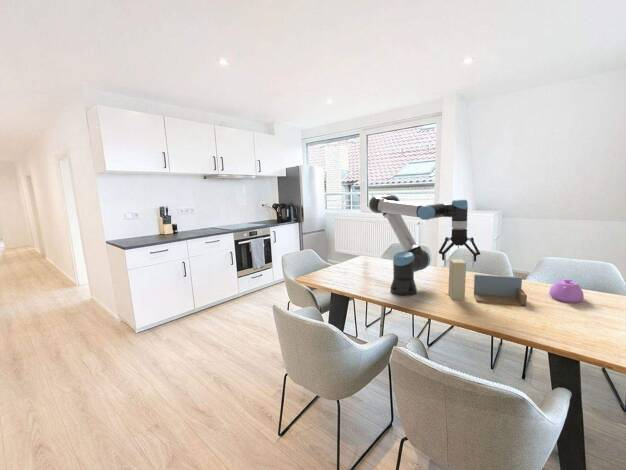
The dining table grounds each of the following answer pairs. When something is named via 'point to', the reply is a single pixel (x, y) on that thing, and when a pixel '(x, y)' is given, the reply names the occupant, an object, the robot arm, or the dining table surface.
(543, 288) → the dining table surface
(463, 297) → the toy refrigerator
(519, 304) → the cleat board
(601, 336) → the dining table surface
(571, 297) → the purple dimpled dome
